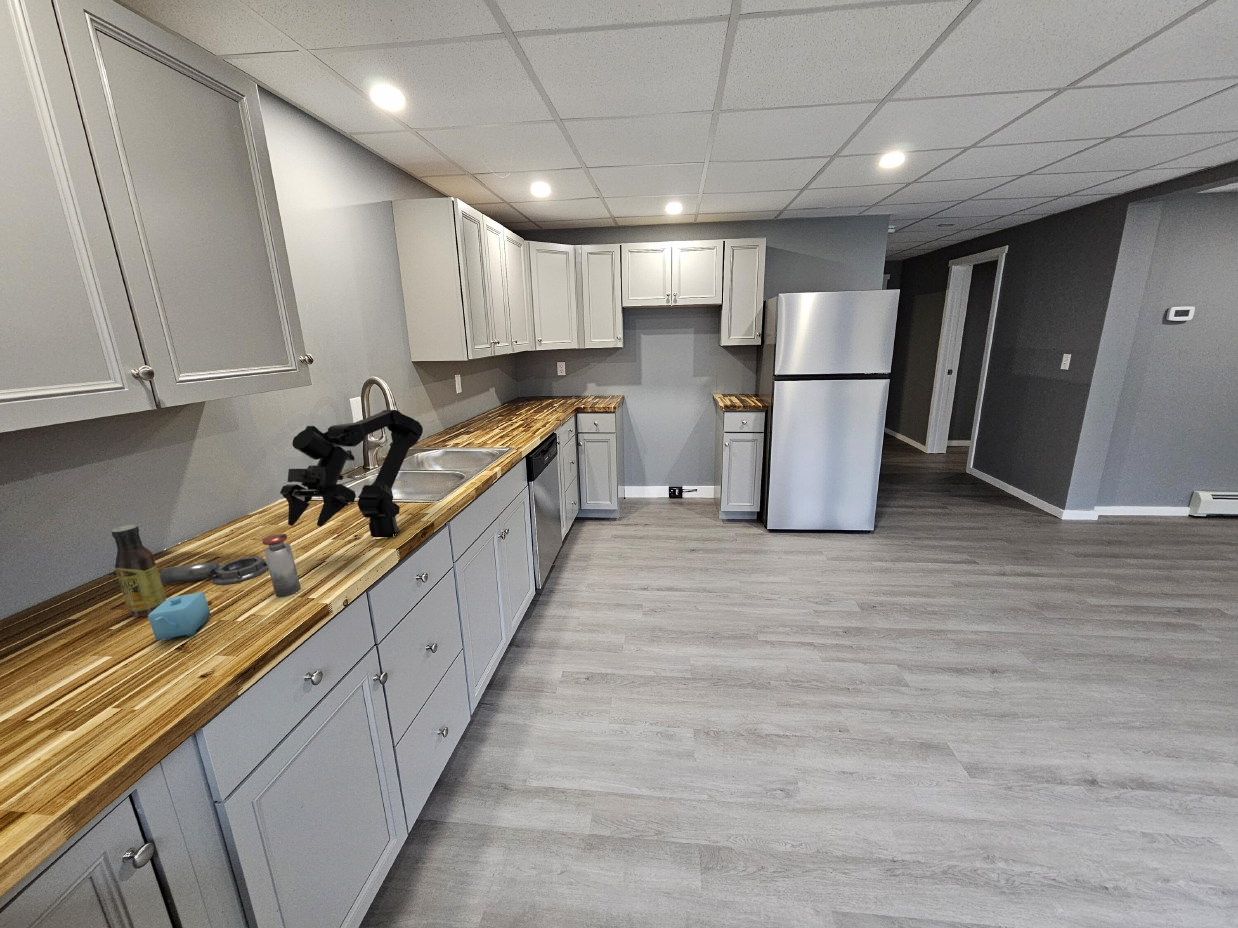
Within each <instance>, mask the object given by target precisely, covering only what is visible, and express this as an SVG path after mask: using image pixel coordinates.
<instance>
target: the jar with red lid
mask: <svg viewBox="0 0 1238 928" xmlns="http://www.w3.org/2000/svg"><path fill="white" fill-rule="evenodd" d="M287 539H288V535H287V534H286V533H277V534H273V535H272V534H271V535H270V536H267V537H265V538H263V539H262V544H263V545H264V546H268V547H267V548H265V549H264V550H263V553H264V557H265V560H266V561H267V565H268V569H269V570H268V573H269V576H270V580H271V583H272V587H273V592H274V595H275V597H277V598H286V597H289V596H292V595H295V594H297V593H298V592H299V590H300V591H301V589H302V586H301V583H300V579H299V575H298V569H297V566H296V562H295V559H294V554H293V551H292V546H291V544H290V543H284V542H285V541H286V540H287ZM296 592H297V593H296Z"/></svg>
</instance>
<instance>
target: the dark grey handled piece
mask: <svg viewBox="0 0 1238 928" xmlns="http://www.w3.org/2000/svg"><path fill="white" fill-rule="evenodd" d="M266 572H269V569H268V565H267V561H266V559H264V558H263V557H262V556H260V555H254V556H246V557H240V558H237V559H234V560H231V561H228V562H225V563H224V564H221V565H220V564H219V563H218V561H209V562H200V563H194V564H185V565H177V566H170V567H163V568H162V569H161V570H160V571H159V575H160V579H161V582H162V585H170V584H177V583H178V584H179V583H185V582H193V581H199V580H207V579H211V582H212V584H214V585H216V586H226V585H233V584H237V583H242V582H245V581H246V582H247V581H249V580H252V579H254V578H257V577H259V576H261V575H263V574H265V573H266Z"/></svg>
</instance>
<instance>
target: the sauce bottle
mask: <svg viewBox="0 0 1238 928" xmlns="http://www.w3.org/2000/svg"><path fill="white" fill-rule="evenodd" d="M139 532H140V529H139V526H138V525H137V524H128V525H123V526H119V527H116V528H113V529H112V530H111V536H112V537H113V538H114V540H115V544H116V549H117V550H116V558H115V563H114V569H115V573H116V575H117V576H116V577H117V578H118V583H119V585H120V590H121V592H122V595H123V597H124V602H125V604H126V606H127V610H128V611H129V613H130V615H131V616H132V617H134V618H135V617H148V615H149V614H150V613H151V612H152V611H153V610H155V609H156V608H157V607H158V606H159V605H161V604H162V603H163V602H164V601H166V600H167V596H166V593H165V590H164V587H163V584H162V582H161V579H160V575H159V574H160V571H159V569H158V566H157V563H156V561H155V557H154V554H153V552H152V551H151V550H150V549H149V548H147V547H145V545H143V541H142V539H141V536H140V534H139Z"/></svg>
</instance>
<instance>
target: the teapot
mask: <svg viewBox="0 0 1238 928" xmlns="http://www.w3.org/2000/svg"><path fill="white" fill-rule="evenodd" d="M211 615H212V614H211V611H210V607H209V604H208V601H207V598H206V594H205V592H204V591H202V592H201V591H200V592H195V593H187V594H183V595H178V596H171V597H168V598H166V601H164V602H163V603H162V604H161V605H159V606H158V607H157V608H156V609H155V610H153V611H152V612H151V613H150V614H149V615H147V618H148V621H149V624H150V627H151V629H152V633H153V635H154V639H155V641H158V640H159V641H160V640H165V641H170V640H172V639H175V637H180V636H181V637H182V636H187V637H191V636H193V635H195V634H196V633H197V630H198V629H199V628H200V627H201V626H204V625H205V624H206V621H207V620H208V618H210V617H211Z"/></svg>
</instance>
